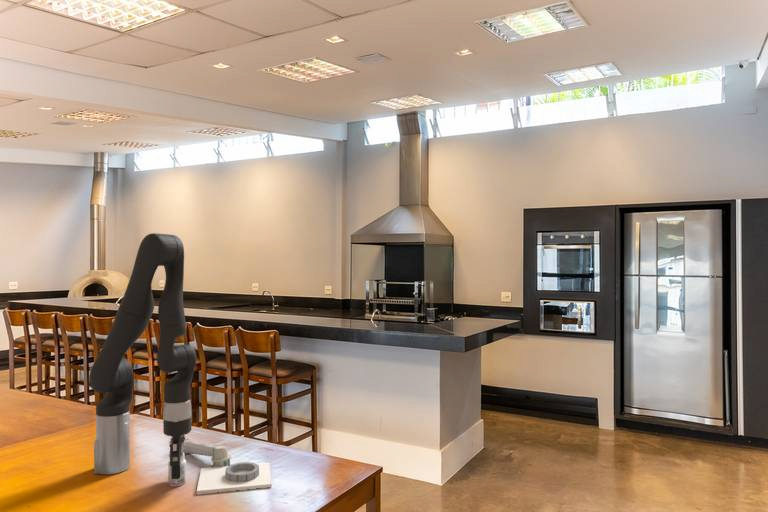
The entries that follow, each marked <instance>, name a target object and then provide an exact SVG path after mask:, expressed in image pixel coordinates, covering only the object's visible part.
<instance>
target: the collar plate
mask: <svg viewBox="0 0 768 512" xmlns="http://www.w3.org/2000/svg"><path fill="white" fill-rule="evenodd" d="M271 475H272V474H271V465H270V462H261V463H260V462H259V463H254V462H249V461H243V462H241V461H240V462H235V463H233V464H230V466H222V467H214V466H212V467H202V468H201V469H200V474H199V478H198V482H197V489H196V495H206V494H217V492H219V493H227V492H228V491H229V492H237V491H236V490H240V491H248V490H247V489H250V490H257V489H256V488H261V489H268V488H267V487H272V484H273V483H272V476H271Z"/></svg>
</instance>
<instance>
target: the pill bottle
mask: <svg viewBox="0 0 768 512" xmlns="http://www.w3.org/2000/svg"><path fill="white" fill-rule="evenodd" d="M185 455H186V453H184V452H183V456H182V457H181V464H180V478H179V479H172V466H170V460H169V461H168V463H167V465H168V466H167V468H168V469H167V471H168V472H167V473H168V485H169V486H170V487H180V486H183V485H185V484H186V482H187V460H186V459H185ZM173 461H178V458H177V457H176V458H174V459H173Z"/></svg>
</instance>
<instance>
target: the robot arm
mask: <svg viewBox="0 0 768 512" xmlns="http://www.w3.org/2000/svg"><path fill="white" fill-rule="evenodd" d="M161 266H162V267H163V268H164V272H165V283H164V287H163V291H162V294H161V297H160V300H159V303H158V309H157V314H158V315H157V316H158V323H159V334H160V335H159V340H158V341H159V343H158V348H157V352H156V353H157V355H156V364H157V366H158V369H160V371H161V372H163V373H167V374H170V373H174V372H176V374H175V376H174V377H172V378H169V379H168V380H166V381H165V383H164V385H163V395H164V396H163V409H162V411H163V413H162V414H163V415H162V417H163V422H162V423H163V430H162V431H163V434H164V435H165V436H168V437H171V438H170V441H169V445H168V446H169V461H170V466H172V479H179V478H180V464H181V457H182V456H183V452H184V451H185V450H184V449H185V441H186V439H187V438H186V437H185V435H188V434H189V433H191V431H192V403H191V383H192V380H193V376H194V374H195V368H196V364H197V352H196V349H195V348H194V347H193V346H192V345H191V344H180V345H175V342H176V340H177V339H178V338H181V337H183V336H185V335H186V333H187V322H186V317H185V315H186V314H185V307H184V274H185V273H184V272H185V248H184V243H183V241H182V239H181V238H180V237H179V236H177V235H175V234H167V233H157V232H156V233H154V232H153V233H152V232H151V233H149V234H147V235H146V236H144V237H143V239H142V240H141V242H140V244H139V247H138V249H137V253H136V257H135V261H134V264H133V269H132V271H131V276H130V278H129V280H128V283H127V286H126V289H125V291H124V294H123V297H122V300H121V301H120V303H119V306H118V307H117V310H116V314H115V317H114V319H113V322H112V324H111V326H110V330H109V331H108V334H107V337H106V339H105V340H104V342H103V343H104V344H103V346H102V348H101V349H100V351H99V353H98V355H97V357H96V359H95V360H94V362H93V364H92V366H91V368H90V372H89V375H88V376H89V378H88V381H89V385H90V388H91V389H92V390H93V392H95V393H98V394H105V393H106V394H105V395H104V397H103V398H102V399H101V400H100V401H98V403H97V404H96V406H95V440H94V443H93V474H97V475H98V474H100V475H114V474H119V473H122V472H124V471H125V472H126V471H127V470H128V469H129V468H130V467H131V440H130V439H131V438H130V437H131V434H130V433H131V429H130V425H131V423H130V421H131V417H130V415H131V413H130V410H131V409H130V408H131V403H132V401H133V395H134V394H133V393H134V369H133V366H132V363H131V362H130V361H129V360H128V359H127V358H125V357H124V356H125V355H126V353H127V352H128V350H130V348H131V347H132V346H133V345H134V344H135V343H136V342H137V341H138V339H139V338H141V336H142V335H143V334H144V332H145V330H146V329H147V328H148V325H149V323H150V321H151V318H152V315H153V314H154V310H155V300H154V294H153V291H152V290H153V289H152V283H153V280H154V276H155V275H156V271H157V269H158V267H161ZM176 457H177V458H178V461H173V459H174V458H176Z"/></svg>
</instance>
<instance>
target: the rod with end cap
mask: <svg viewBox="0 0 768 512" xmlns="http://www.w3.org/2000/svg"><path fill="white" fill-rule="evenodd" d="M184 450H185V451H184V453H185V454H191V455H196V456H197V455H199V456H205V457H211V462H212V467H222V466H230V465H231V459H232V455H230V454H229V451H228V448H227V446H226V445H219V446H215V445H212V444H211V445H210V444H207V443H202V442H199V441H195V440H194V441H193V440H190V439H189V438H186V441H185V449H184Z"/></svg>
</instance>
